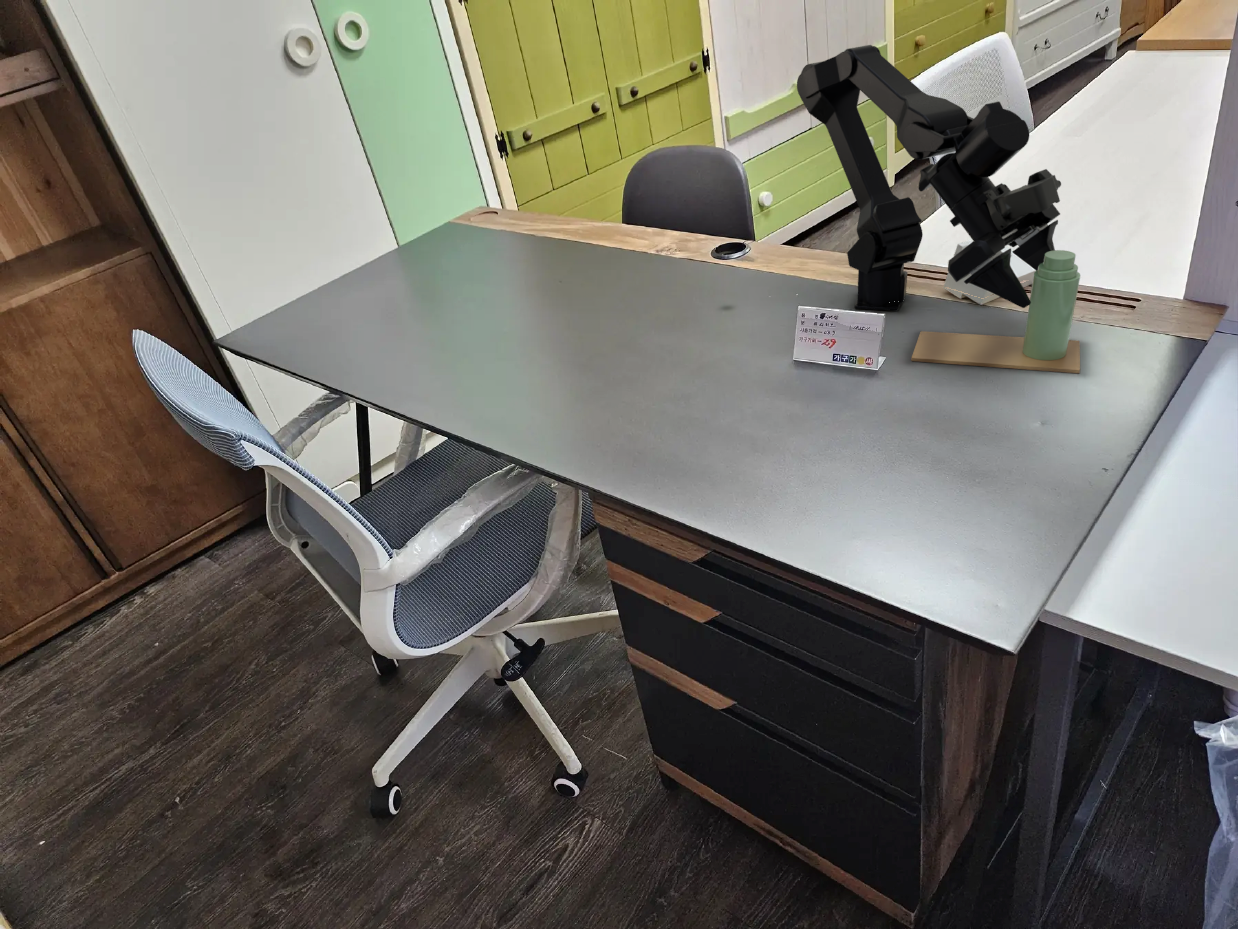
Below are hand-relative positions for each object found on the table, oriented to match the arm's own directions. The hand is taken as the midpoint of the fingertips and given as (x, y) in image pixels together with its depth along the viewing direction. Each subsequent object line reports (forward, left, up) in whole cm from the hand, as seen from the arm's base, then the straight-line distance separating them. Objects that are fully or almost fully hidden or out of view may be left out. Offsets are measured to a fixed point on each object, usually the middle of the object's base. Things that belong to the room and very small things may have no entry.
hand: (1044, 293), depth 106 cm
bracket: (-6, +23, -8) cm, 25 cm away
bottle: (+1, 0, -8) cm, 8 cm away
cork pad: (-5, -1, -8) cm, 10 cm away
